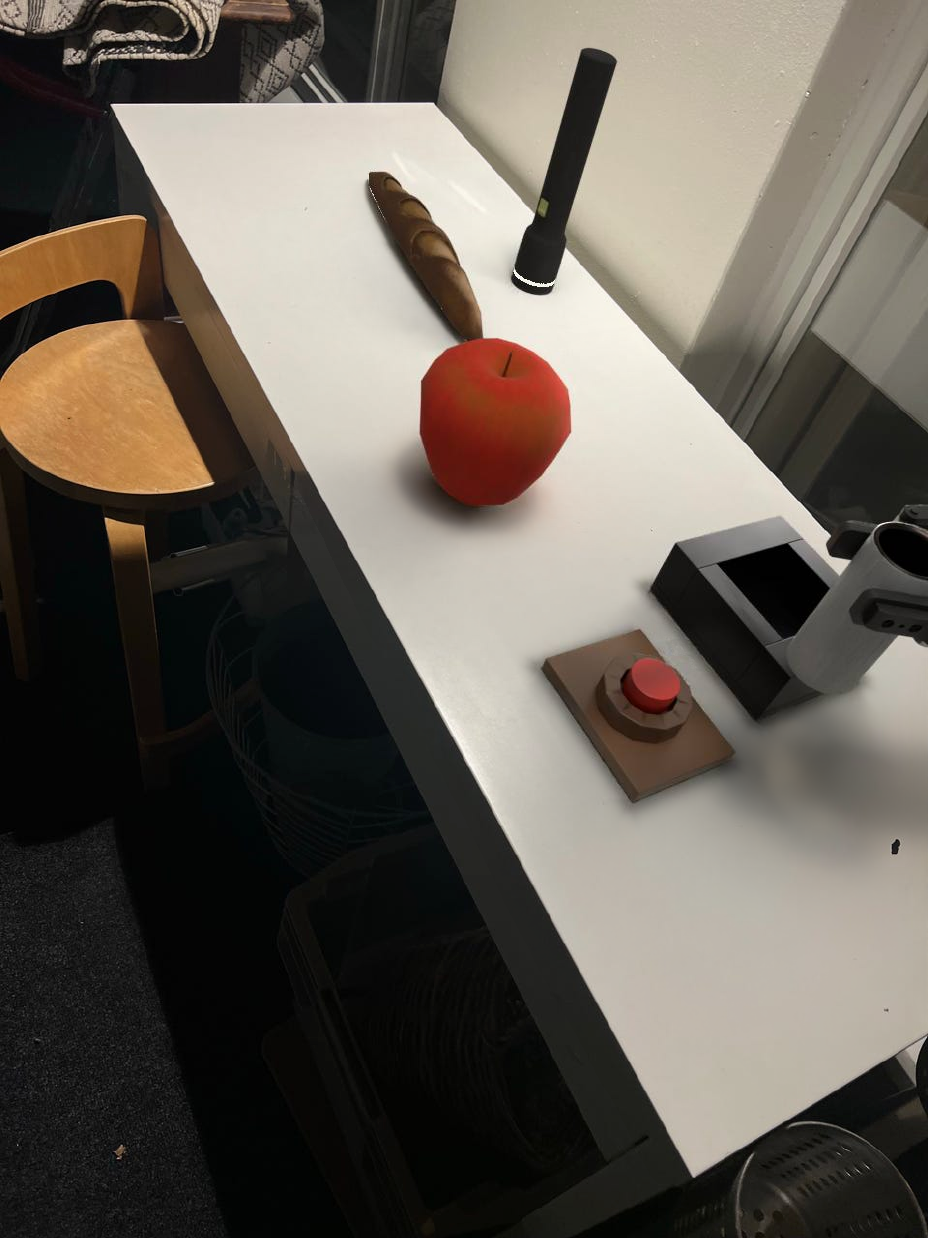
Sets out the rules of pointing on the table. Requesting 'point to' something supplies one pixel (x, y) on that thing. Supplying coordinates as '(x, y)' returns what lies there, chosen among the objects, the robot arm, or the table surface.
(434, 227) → the bread
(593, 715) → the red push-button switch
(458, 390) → the apple
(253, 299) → the table surface
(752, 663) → the open-top black bin
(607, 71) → the flashlight
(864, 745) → the table surface
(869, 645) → the dark grey hollow cylinder
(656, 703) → the button
